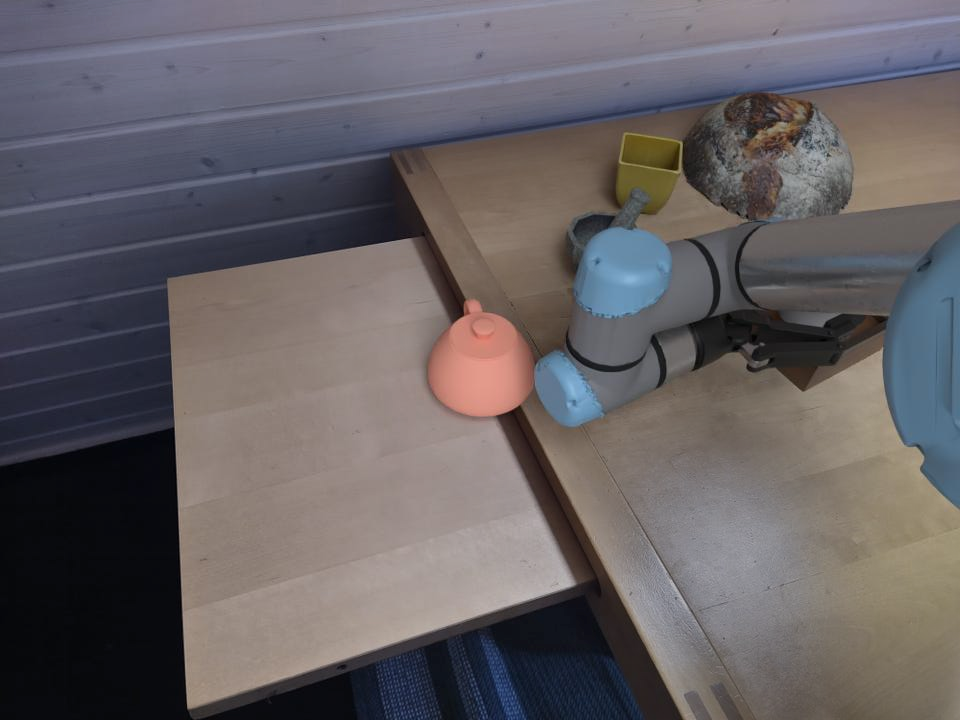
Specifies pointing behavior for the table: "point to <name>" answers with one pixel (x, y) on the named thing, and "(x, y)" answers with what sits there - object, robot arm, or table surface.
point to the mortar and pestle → (603, 223)
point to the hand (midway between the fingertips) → (816, 275)
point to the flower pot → (648, 168)
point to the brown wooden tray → (858, 348)
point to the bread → (770, 158)
